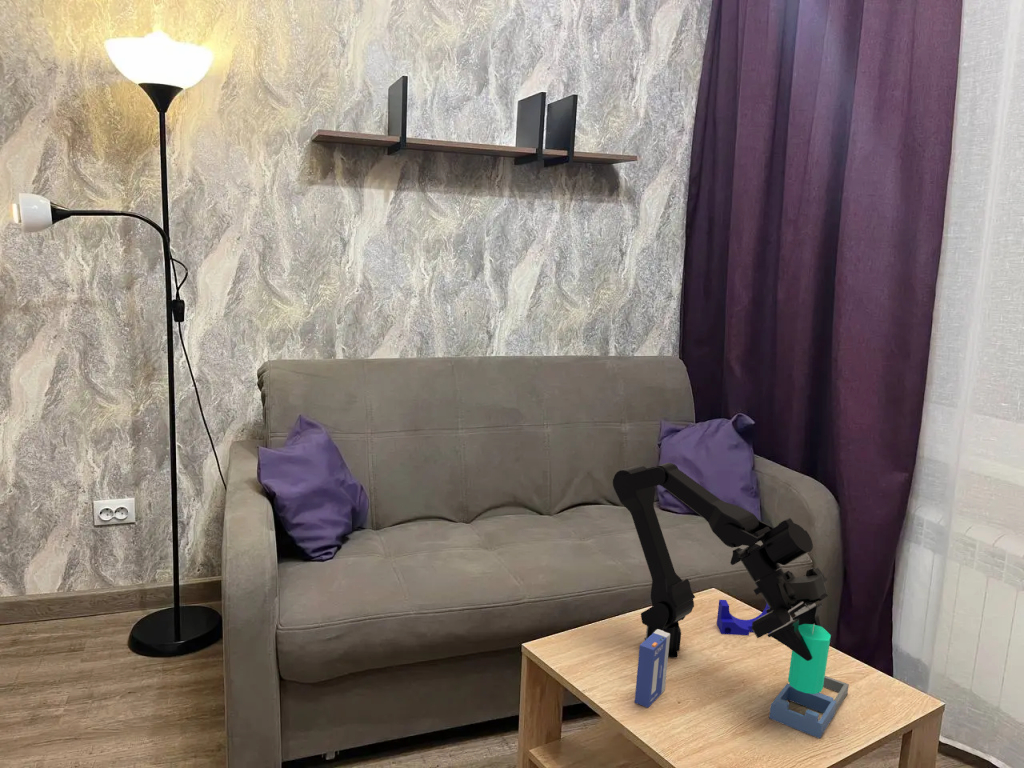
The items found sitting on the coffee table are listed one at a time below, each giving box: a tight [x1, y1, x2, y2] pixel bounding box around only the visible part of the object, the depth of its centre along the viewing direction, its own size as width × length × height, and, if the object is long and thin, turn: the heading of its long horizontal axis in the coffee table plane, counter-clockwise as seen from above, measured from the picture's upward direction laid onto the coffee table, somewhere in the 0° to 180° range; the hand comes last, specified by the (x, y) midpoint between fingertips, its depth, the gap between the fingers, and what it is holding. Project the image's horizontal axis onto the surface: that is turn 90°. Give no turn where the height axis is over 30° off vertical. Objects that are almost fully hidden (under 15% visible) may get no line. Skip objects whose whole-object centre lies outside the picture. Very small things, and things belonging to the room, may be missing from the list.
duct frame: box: [768, 675, 850, 739], centre depth 152 cm, size 18×9×4 cm, turn 144°
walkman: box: [634, 629, 670, 709], centre depth 151 cm, size 8×3×12 cm, turn 146°
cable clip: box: [716, 599, 771, 636], centre depth 179 cm, size 12×4×6 cm, turn 89°
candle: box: [787, 624, 832, 694], centre depth 146 cm, size 6×6×12 cm
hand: (817, 654), depth 145 cm, fingers closed on candle, 5 cm apart
